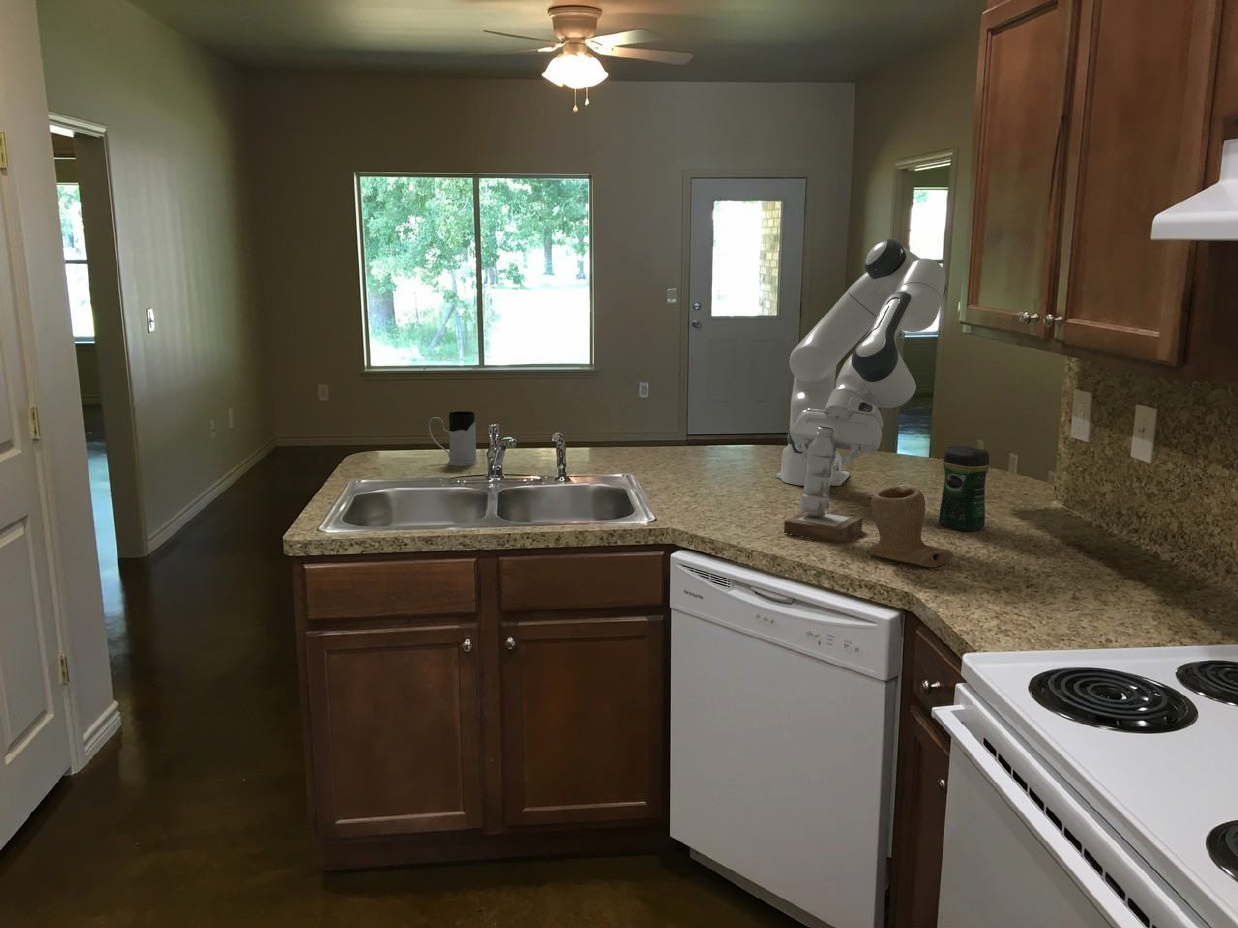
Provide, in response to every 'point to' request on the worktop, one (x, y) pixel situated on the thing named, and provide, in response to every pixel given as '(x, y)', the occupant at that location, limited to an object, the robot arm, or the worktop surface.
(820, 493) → the plastic bottle
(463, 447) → the grey and black mug
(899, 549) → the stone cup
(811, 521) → the walnut slab
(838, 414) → the robot arm
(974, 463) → the coffee jar
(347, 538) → the worktop surface
